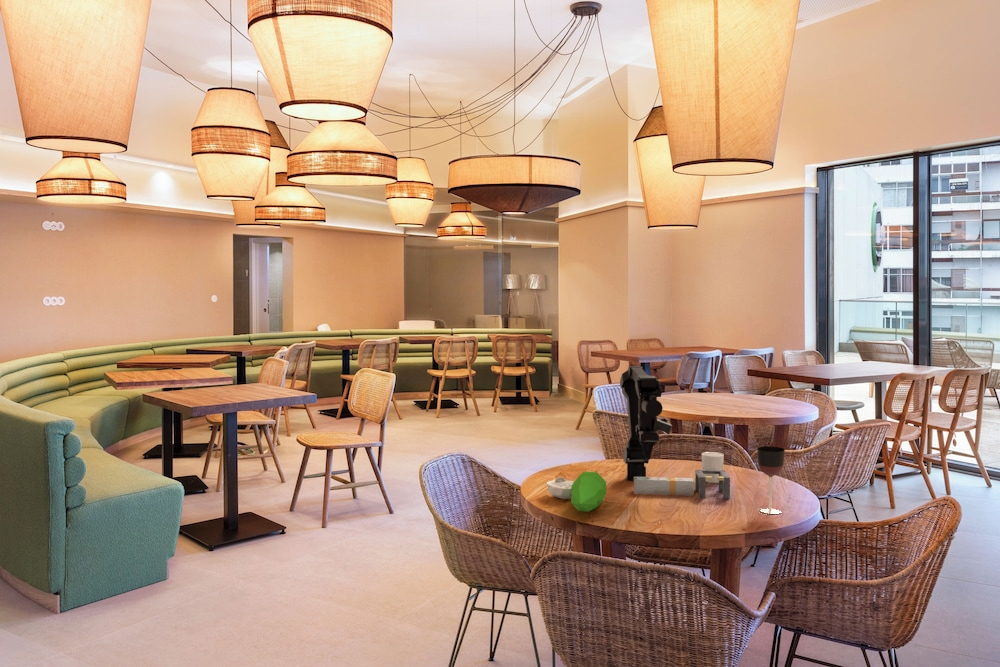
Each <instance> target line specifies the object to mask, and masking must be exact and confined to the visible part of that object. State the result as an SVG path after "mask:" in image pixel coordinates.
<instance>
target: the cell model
mask: <svg viewBox="0 0 1000 667" xmlns="http://www.w3.org/2000/svg"><path fill="white" fill-rule="evenodd" d="M573 482H574V481H573V480H569V479H565V478H564V477H561V476H558V477H557V478H555V479H554V480H553V479H552V480H550V481H547V482H546V486H547V491H548V493H549V494H550V495H551V496H553V497H555V498H559V499H561V500H567V499H569V500H570V499H571V485H572V484H573Z"/></svg>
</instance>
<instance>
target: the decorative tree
mask: <svg viewBox="0 0 1000 667" xmlns="http://www.w3.org/2000/svg"><path fill="white" fill-rule="evenodd" d="M606 496H607V481H606V480H605V479H604V478H603V477H602V476H601V474H600V473H598V472H597V471H583V472H582V473H581V474H580V475H579V476H578V477H577V478H576V479H575V480H574V481H573V484H572V485H571V498H570V499H571V500H570V502H571V504H572V505H573V507H574V508H576V510H577V511H579V512H591V511H594V510H596V508H597V507H598V506H600V505H601V504H602V503H603V502H604V499H605V498H606Z"/></svg>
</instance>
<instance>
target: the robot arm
mask: <svg viewBox="0 0 1000 667" xmlns="http://www.w3.org/2000/svg"><path fill="white" fill-rule="evenodd" d="M619 387H620V388H621V393H622V394H623V396H624V397H625V399H626V402H627V418H628V432H629V438H628V439H627V441H626V443H625V447H624V451H623V455H622V457H623V463H624V464H626V481H634V477H647V466H646V465H647V464H649V461H650V460H651V457H652V453H653V448H654V446H655V445H656V444H658V443H659V441H660V434H659V433H658V432H657V431H661V432H663V433H665V434H667V435H670V433H671V431H672V428H673V425H672V424H671V423H670V422H668V419H667V418H664V417H662V418H660V419H658V417H659V416H660V415H661V414H662V412H663V409H664V408H663V405H662V403H661V402H660V401H659V400H658V399H657V398H661V397H662V393H663V391H662V387H661V383H660V382H659V379H658V378H657V376H655V375H649V374H647V373H646V372H645V370H644V369H643V366H640V365H639V366H638V365H637V366H636V365H633V366H631V365H630V366H629V367H628V369H627V370H626V371H624V372H623V373H622V374H621V377H620V380H619ZM645 464H646V465H645Z"/></svg>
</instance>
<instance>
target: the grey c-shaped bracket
mask: <svg viewBox="0 0 1000 667" xmlns="http://www.w3.org/2000/svg"><path fill="white" fill-rule="evenodd" d="M694 472H695V473H694V476H695V478H694V479H695V480H694V491H695V492H698V498H699V499H706V491H707V490H706V485H707V484H706V483H707V482H706V480H712V477H711V476H705V475H704V474H719V476H717V480H719V483H718V492H721V493H722V498H723V500H731V477H730V476H729V474H728V473H727V471H726V470H725V469H723V470H702V469H695V470H694Z"/></svg>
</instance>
